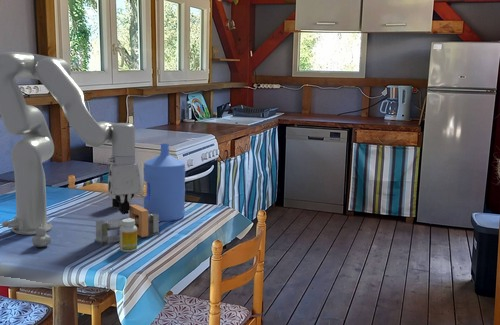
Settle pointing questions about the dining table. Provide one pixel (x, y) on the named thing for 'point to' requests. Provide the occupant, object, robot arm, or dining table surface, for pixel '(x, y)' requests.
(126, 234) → the supplement bottle
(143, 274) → the dining table surface
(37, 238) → the grey figurine
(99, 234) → the pipe rig
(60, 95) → the robot arm
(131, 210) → the collar
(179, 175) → the water jug
